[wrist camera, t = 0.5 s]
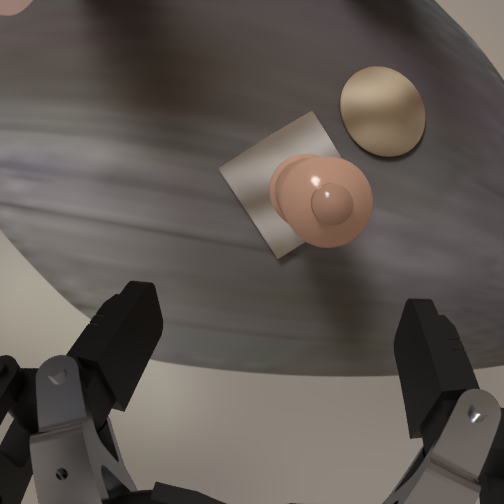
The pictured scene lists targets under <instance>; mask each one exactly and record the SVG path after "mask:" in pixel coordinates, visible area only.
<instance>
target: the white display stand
mask: <svg viewBox="0 0 504 504" xmlns="http://www.w3.org/2000/svg"><path fill="white" fill-rule="evenodd" d="M299 154H314V155H318V156H321V157H337V158H341V157H340V155H339V153H338V151H337V150H336V148H335V146H334V145H333V143H332V142H331V140H330V138H329V137H328V135H327V133H326V132H325V130H324V129H323V127H322V125H321V124H320V122H319V121H318V119H317V118H316V116H315V115H314V113H313V111H311V112H309V113H307V114H306V115H304V116H302V117H300V118H299V119H297V120H295V121H293V122H292V123H290V124H288V125H287V126H285V127H283V128H282V129H280V130H278V131H277V132H275V133H273V134H272V135H270V136H268V137H267V138H265V139H264V140H262V141H260V142H259V143H257V144H255V145H254V146H252V147H251V148H249V149H247V150H246V151H244V152H243V153H241V154H240V155H238V156H237V157H235V158H233V159H232V160H230V161H229V162H227V163H226V164H224V165H223V166H221V167H220V168H218V169H219V171H220V172H221V174H222V175H223V177H224V178H225V180H226V181H227V183H228V184H229V186H230V187H231V189H232V190H233V192H234V193H235V195H236V196H237V198H238V199H239V201H240V202H241V204H242V205H243V207H244V208H245V210H246V211H247V213H248V214H249V216H250V217H251V219H252V221H253V222H254V224H255V225H256V227H257V228H258V230H259V231H260V233H261V234H262V236H263V237H264V239H265V240H266V242H267V243H268V245H269V247H270V248H271V250H272V251H273V253H274V254H275V256H276V257H277V259H279V258H280V257H282V256H284V255H285V254H287V253H288V252H290V251H292V250H293V249H295V248H297V247H298V246H300V245H301V244H303V243H305V241H304V240H302V239H301V238H300V237H299V236H298V235H297V234H296V233H295V232H294V231H293V229H292V228H291V226H290V225H289V224H288V223H287V222H285V221H284V220H283V219H282V218H281V217H280V216H279V215H278V214H277V212H276V211H275V209H274V207H273V205H272V203H271V199H270V194H269V186H270V181H271V177H272V175H273V173H274V171H275V170H276V168H277V167H278V166H279V165H280V164H281V163H282V162H283V161H285V160H286V159H288V158H290V157H292V156H295V155H299ZM341 159H342V158H341Z"/></svg>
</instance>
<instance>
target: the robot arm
mask: <svg viewBox="0 0 504 504" xmlns="http://www.w3.org/2000/svg"><path fill="white" fill-rule="evenodd" d="M162 331H163V318H162V313H161V309H160V305H159V301H158V297H157V293H156V288H155V286H154V284H153V283H150V282H140V281H130V282H129V283H128V284H127V285H126V286H125V288H124V289H123V290H122V292H121V293H120V294H115V295H114V296H113V297H111V298H110V299H108V300H107V301H106V302H104V303H103V305H102V306H101V307H100V309H99V310H98V311H97V313H96V315H94V317H93V318H92V320H91V321H90V324H88V325H87V326H86V328H85V329H84V331H83V332H82V333H81V335H80V336H79V338H78V339H77V341H76V342H75V343H74V345H73V346H72V348H71V349H70V350H69V352H68V353H67V355H58V356H54V357H51V358H49V359H48V360H46V361H45V362H44V363H43V364H42V365H41V366H40V367H39V368H20V366H19V365H18V363H17V362H16V360H15V359H14V358H13V357H11V356H8V355H4V356H0V425H1V423H2V421H3V419H4V417H5V416H6V414H7V412H9V414H11V416H12V417H13V418H14V420H13V422H12V424H11V425H10V427H9V429H8V431H7V433H6V435H5V437H4V439H3V441H2V443H1V445H0V504H21V501H22V499H23V496H24V494H25V491H26V489H27V486H28V484H29V482H30V479H31V477H32V475H33V474H34V481H35V486H36V492H37V497H38V503H39V504H226V503H223V502H221V501H218V500H216V499H214V498H211V497H209V496H207V495H204V494H202V493H200V492H197V491H193V490H189V489H184V488H179V487H175V486H171V485H167V484H163V483H159V482H155V486H154V488H153V490H140V491H138V490H137V488H136V486H135V484H134V482H133V480H132V478H131V477H130V475H129V473H128V471H127V469H126V468H125V465H124V462H123V459H122V457H121V453H120V450H119V447H118V444H117V441H116V438H115V434H114V431H113V428H112V424H111V421H110V418H109V416H108V415H109V413H110V411H111V409H112V408H113V409H116V410H120V411H125V409H126V407H127V405H128V403H129V401H130V399H131V396H132V395H133V392H134V390H135V388H136V386H137V384H138V382H139V380H140V378H141V376H142V373H143V372H144V369H145V367H146V365H147V363H148V361H149V359H150V357H151V355H152V353H153V351H154V349H155V347H156V345H157V343H158V341H159V339H160V337H161V335H162ZM394 354H395V359H396V363H397V368H398V373H399V378H400V383H401V388H402V393H403V399H404V404H405V410H406V416H407V422H408V428H409V435H410V439H412V438H422V439H423V447H422V448H421V449H420V451H419V452H418V454H417V456H416V457H415V459H414V461H413V462H412V463H411V465H410V467H409V468H408V470H407V471H406V473H405V474H404V476H403V477H402V479H401V480H400V481H399V483H398V484H397V486H396V487H395V489H394V490H393V491H392V493H391V494H390V495H389V497H388V498H387V499H386V500H385V501H384V502H383V503H382V504H475V502H476V500H477V498H478V496H479V497H480V504H504V408H501V407H500V405H499V403H498V401H497V400H496V399H495V398H494V396H492V395H491V394H490V393H488V392H487V391H484V390H481V389H480V388H479V386H478V383H477V380H476V377H475V374H474V372H473V369H472V366H471V364H470V361H469V359H468V356H467V354H466V351H464V346H463V344H462V342H461V341H460V337H459V335H458V332H457V330H456V328H455V326H454V325H453V324H452V323H451V322H450V321H449V319H448V318H447V317H446V316H445V315H438V312H437V310H436V308H435V305H434V303H433V301H432V300H431V299H408V300H407V301H406V304H405V307H404V310H403V313H402V316H401V319H400V323H399V326H398V329H397V332H396V335H395V339H394ZM477 480H478V482H477ZM290 504H292V503H290ZM293 504H294V503H293Z"/></svg>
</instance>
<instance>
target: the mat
mask: <svg viewBox="0 0 504 504" xmlns="http://www.w3.org/2000/svg"><path fill="white" fill-rule="evenodd" d="M340 114H341V118H342V121H343V124H344V127H345V128H346V130H347V132H348V134H349V135H350V136H351V138H352V139H353V140H354V141H355V142H356V143H357V144H358V145H359V146H360V147H362V148H363V149H364V150H366V151H368V152H370V153H372V154H375V155H379V156H385V157H391V156H399V155H402V154H404V153H406V152H408V151H410V150H411V149H412V148H413V147H414V146H415V145H416V144H417V143H418V142H419V140H420V138H421V136H422V134H423V131H424V127H425V109H424V105H423V102H422V99H421V97H420V95H419V93H418V91H417V89H416V88H415V87H414V85H413V84H412V83H411V82H410V81H409V80H408V79H407V78H406V77H404V76H403V75H402V74H400V73H399V72H397V71H394V70H392V69H389V68H386V67H377V66H376V67H368V68H365V69H362V70H360V71H358V72H357V73H355V74H354V75H353V76H352V77H351V78H350V79H349V80H348V81H347V82H346V84H345V86H344V88H343V90H342V93H341V96H340Z"/></svg>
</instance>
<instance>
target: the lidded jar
mask: <svg viewBox="0 0 504 504" xmlns="http://www.w3.org/2000/svg"><path fill="white" fill-rule="evenodd" d="M269 194H270V199H271V203H272V205H273V207H274V209H275V211H276V212H277V214H278V215H279V216H280V217H281V218H282V219H283V220H284V221H285V222H287V223H288V224H289V225H290V226H291V228H292V229H293V231H294V232H295V233H296V234H297V235H298V236H299V237H300V238H301V239H302V240H304V241H305V242H307V243H309V244H311V245H314V246H317V247H323V248H333V247H338V246H342V245H345V244H347V243H349V242H351V241H352V240H353V239H355V238H356V237H357V236H358V235H359V234H360V233H361V232H362V231H363V230H364V228H365V227H366V225H367V223H368V221H369V219H370V216H371V212H372V205H373V198H372V191H371V188H370V185H369V183H368V181H367V179H366V177H365V176H364V174H363V173H362V172H361V171H360V170H359V169H358V168H357V167H356V166H355V165H353V164H352V163H350V162H348V161H346V160H344V159H341V158H337V157H321V156H318V155H314V154H299V155H295V156H292V157H290V158H288V159H286V160H285V161H283V162H282V163H281V164H280V165H279V166H278V167H277V168H276V170H275V171H274V173H273V175H272V177H271V181H270V186H269Z"/></svg>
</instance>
